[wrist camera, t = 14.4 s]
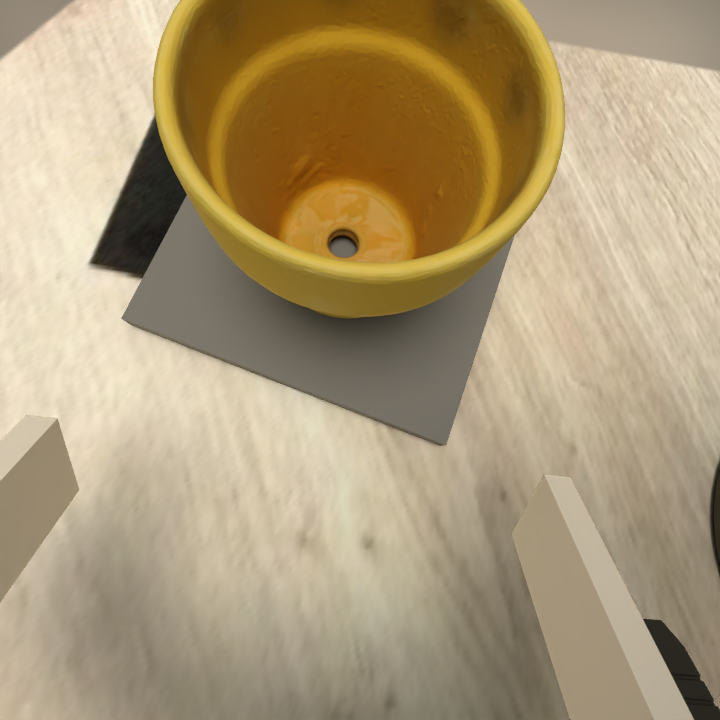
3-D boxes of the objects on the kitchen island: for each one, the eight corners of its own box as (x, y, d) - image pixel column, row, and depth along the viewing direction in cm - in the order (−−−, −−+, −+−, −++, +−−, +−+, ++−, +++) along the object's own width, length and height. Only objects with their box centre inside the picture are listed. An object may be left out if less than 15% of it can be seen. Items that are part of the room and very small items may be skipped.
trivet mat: (517, 207, 23) (526, 196, 22) (439, 445, 20) (446, 445, 19) (248, 100, 22) (245, 84, 21) (131, 325, 20) (121, 318, 19)
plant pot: (258, 388, 19) (194, 325, 9) (210, 175, 20) (113, -67, 11) (481, 332, 20) (630, 228, 10) (418, 138, 22) (497, -104, 12)
